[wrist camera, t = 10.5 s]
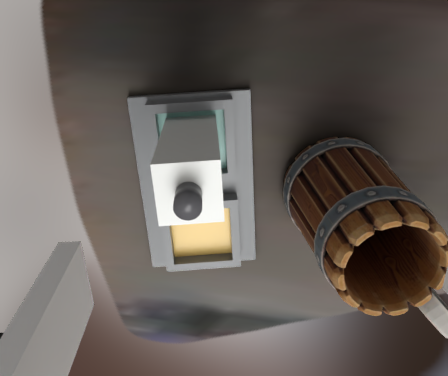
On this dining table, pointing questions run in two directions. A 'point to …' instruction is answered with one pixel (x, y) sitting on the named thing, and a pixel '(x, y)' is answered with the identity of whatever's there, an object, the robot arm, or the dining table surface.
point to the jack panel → (231, 179)
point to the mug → (368, 230)
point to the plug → (188, 172)
